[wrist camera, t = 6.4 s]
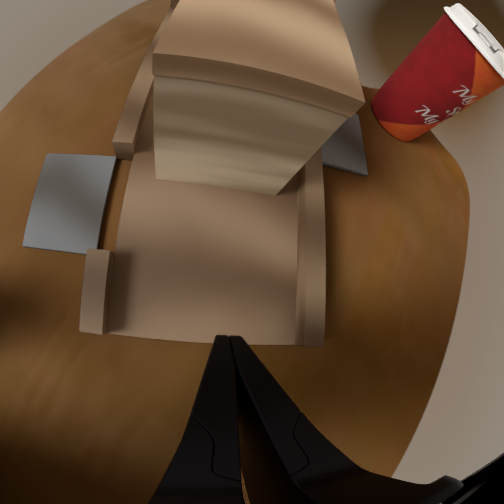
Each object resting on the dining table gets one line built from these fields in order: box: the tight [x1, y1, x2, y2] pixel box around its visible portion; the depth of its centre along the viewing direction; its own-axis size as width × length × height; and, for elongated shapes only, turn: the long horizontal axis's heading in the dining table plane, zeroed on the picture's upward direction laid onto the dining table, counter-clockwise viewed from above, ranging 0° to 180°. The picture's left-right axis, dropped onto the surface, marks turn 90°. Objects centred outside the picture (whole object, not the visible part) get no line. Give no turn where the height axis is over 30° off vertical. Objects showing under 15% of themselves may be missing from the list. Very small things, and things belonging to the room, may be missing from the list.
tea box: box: [152, 0, 365, 195], centre depth 13 cm, size 13×7×9 cm, turn 177°
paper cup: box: [371, 3, 504, 142], centre depth 17 cm, size 8×8×14 cm
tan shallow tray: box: [23, 0, 368, 347], centre depth 17 cm, size 26×22×3 cm
